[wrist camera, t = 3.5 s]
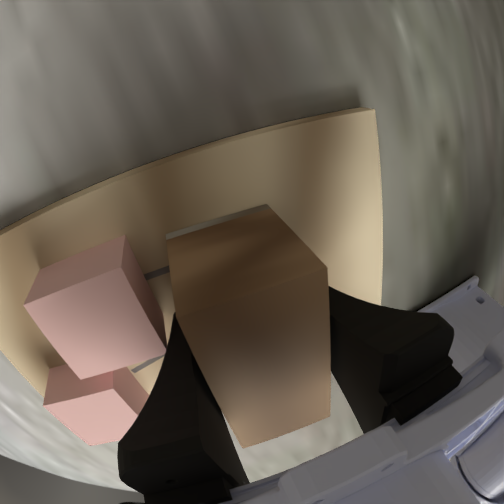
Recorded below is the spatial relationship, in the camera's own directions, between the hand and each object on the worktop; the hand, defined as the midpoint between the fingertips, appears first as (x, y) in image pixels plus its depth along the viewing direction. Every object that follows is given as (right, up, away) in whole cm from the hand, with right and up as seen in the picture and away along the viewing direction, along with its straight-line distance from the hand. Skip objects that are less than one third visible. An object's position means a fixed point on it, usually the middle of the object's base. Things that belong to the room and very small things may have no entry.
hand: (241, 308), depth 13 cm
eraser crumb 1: (-6, +1, -1) cm, 6 cm away
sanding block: (0, 0, +1) cm, 1 cm away
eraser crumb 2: (-7, -5, +1) cm, 9 cm away
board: (-3, 0, +1) cm, 3 cm away
